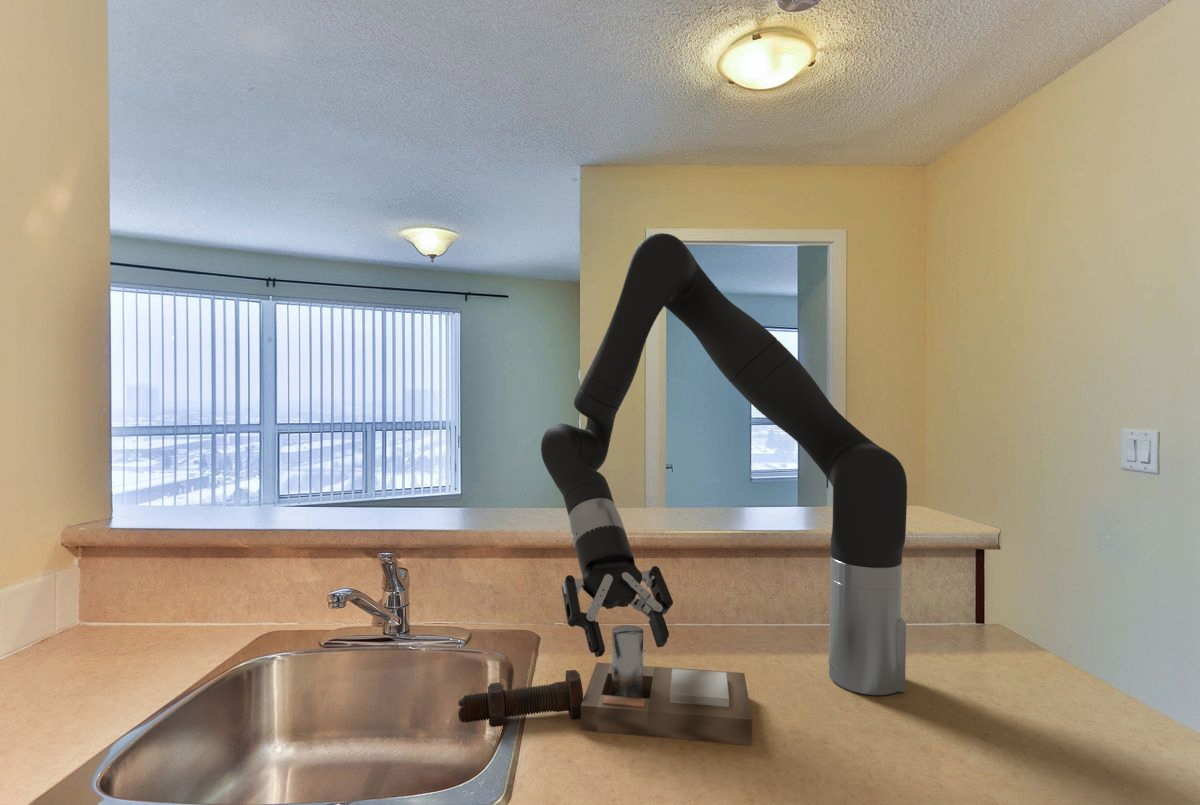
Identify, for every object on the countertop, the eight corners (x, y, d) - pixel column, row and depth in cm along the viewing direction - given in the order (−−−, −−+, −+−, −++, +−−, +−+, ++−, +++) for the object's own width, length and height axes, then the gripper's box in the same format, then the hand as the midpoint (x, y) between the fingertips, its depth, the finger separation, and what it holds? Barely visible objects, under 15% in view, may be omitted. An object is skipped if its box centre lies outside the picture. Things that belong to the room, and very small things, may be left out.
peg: (644, 701, 82) (644, 625, 82) (641, 717, 78) (641, 637, 78) (613, 699, 82) (614, 624, 82) (609, 715, 78) (610, 635, 78)
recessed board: (744, 695, 84) (744, 665, 84) (752, 745, 72) (752, 711, 72) (596, 683, 87) (596, 655, 87) (580, 730, 75) (580, 697, 75)
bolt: (459, 736, 77) (580, 720, 80) (458, 736, 72) (585, 718, 75) (458, 685, 80) (575, 671, 83) (457, 681, 75) (580, 667, 78)
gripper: (557, 527, 84) (586, 644, 73) (653, 519, 89) (692, 628, 79) (546, 556, 89) (571, 670, 78) (637, 548, 94) (672, 653, 84)
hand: (632, 649), depth 79 cm, fingers open, 8 cm apart
